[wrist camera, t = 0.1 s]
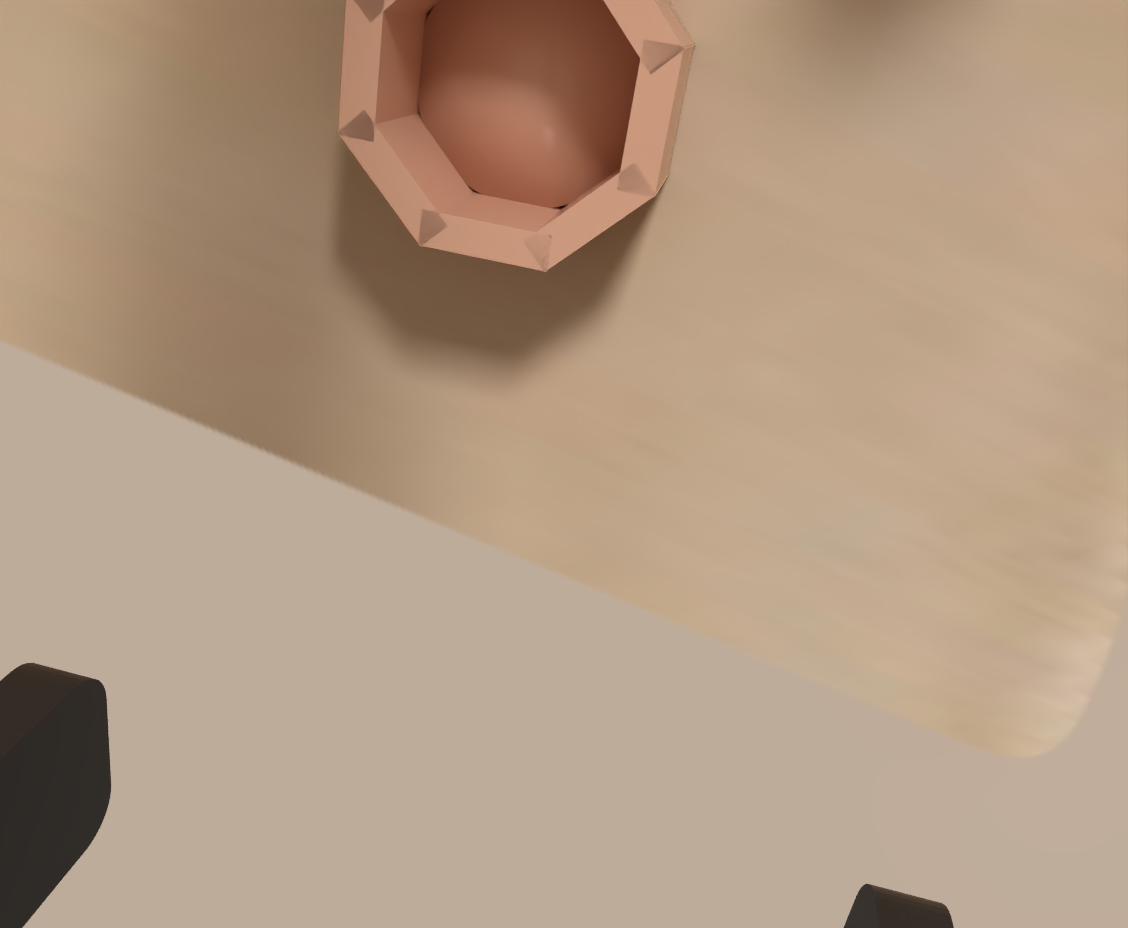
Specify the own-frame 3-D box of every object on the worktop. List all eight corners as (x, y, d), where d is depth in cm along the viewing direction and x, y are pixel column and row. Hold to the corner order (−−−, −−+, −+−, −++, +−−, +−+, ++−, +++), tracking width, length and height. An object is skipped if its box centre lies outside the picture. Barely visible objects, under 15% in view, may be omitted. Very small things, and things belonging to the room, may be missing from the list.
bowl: (408, -110, 33) (352, -130, 29) (716, -57, 32) (708, -70, 28) (383, 203, 38) (331, 228, 33) (652, 258, 37) (637, 291, 32)
